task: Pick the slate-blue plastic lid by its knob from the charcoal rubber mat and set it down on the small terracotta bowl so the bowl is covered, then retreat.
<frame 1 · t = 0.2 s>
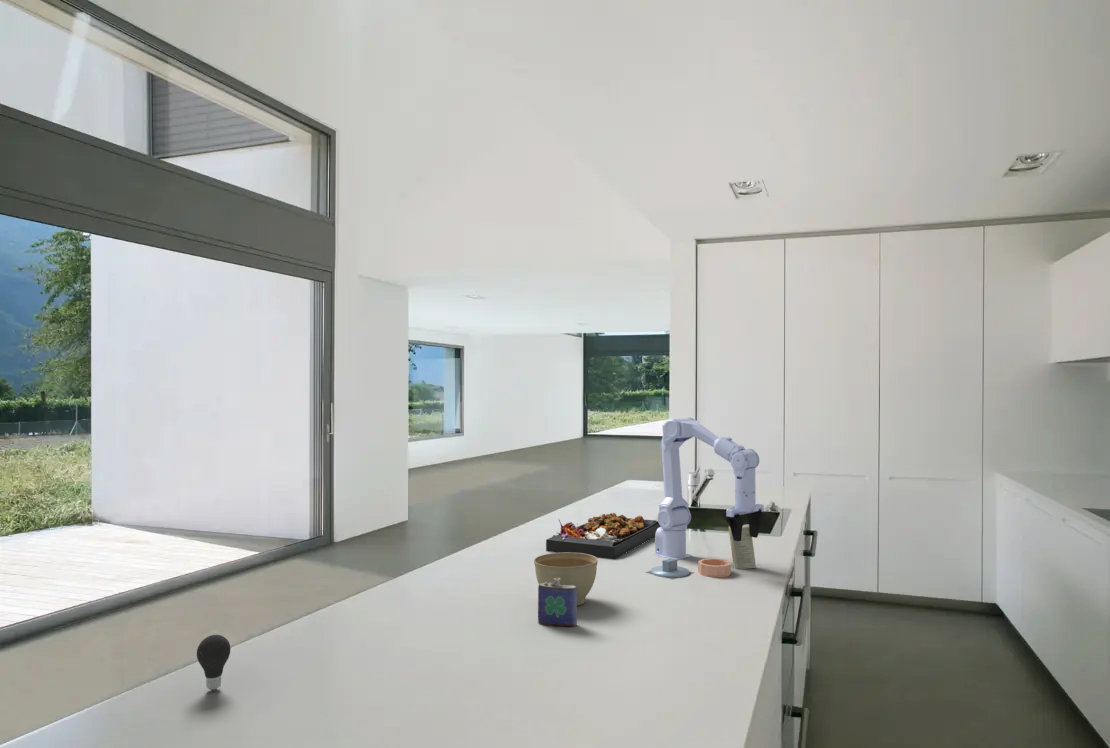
hand: (745, 538, 211), 10 cm above the counter, tool pointing down, fingers open, 7 cm apart
lid: (669, 572, 211), resting on mat
light bulb: (213, 691, 133), on the counter
bowl: (714, 574, 210), on the counter
planter bowl: (566, 602, 185), on the counter
skincare box: (744, 567, 217), on the counter, touching gripper
food platter: (608, 543, 254), on the counter
mat: (670, 573, 211), on the counter
flask: (557, 625, 168), on the counter
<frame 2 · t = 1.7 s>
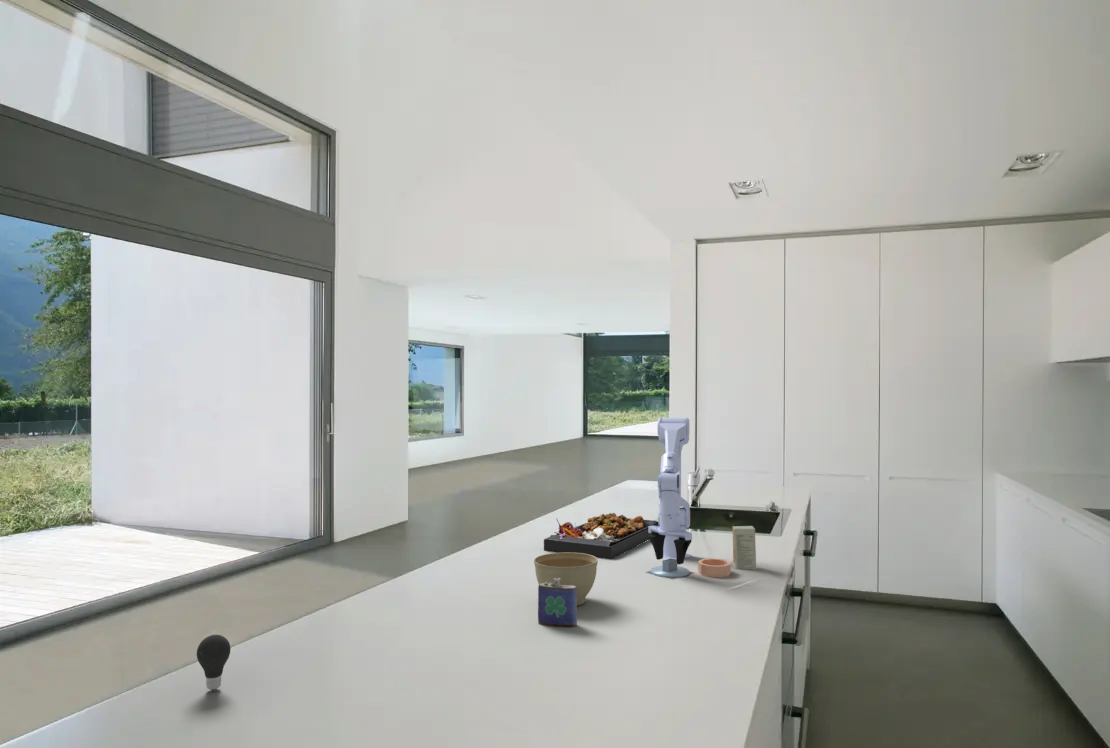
hand: (669, 561, 211), 4 cm above the counter, tool pointing down, fingers open, 7 cm apart
skincare box: (744, 568, 217), on the counter
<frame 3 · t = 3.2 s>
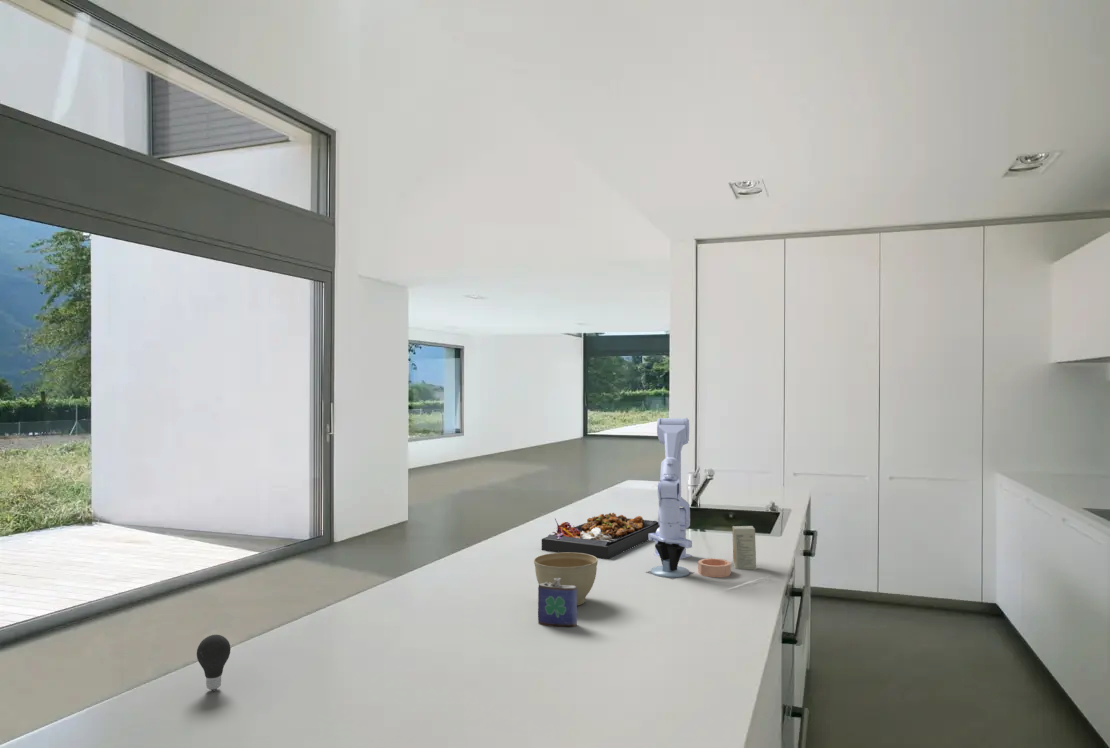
hand: (669, 568, 211), 1 cm above the counter, tool pointing down, fingers closed on lid, 2 cm apart
lid: (670, 572, 211), resting on mat, touching gripper
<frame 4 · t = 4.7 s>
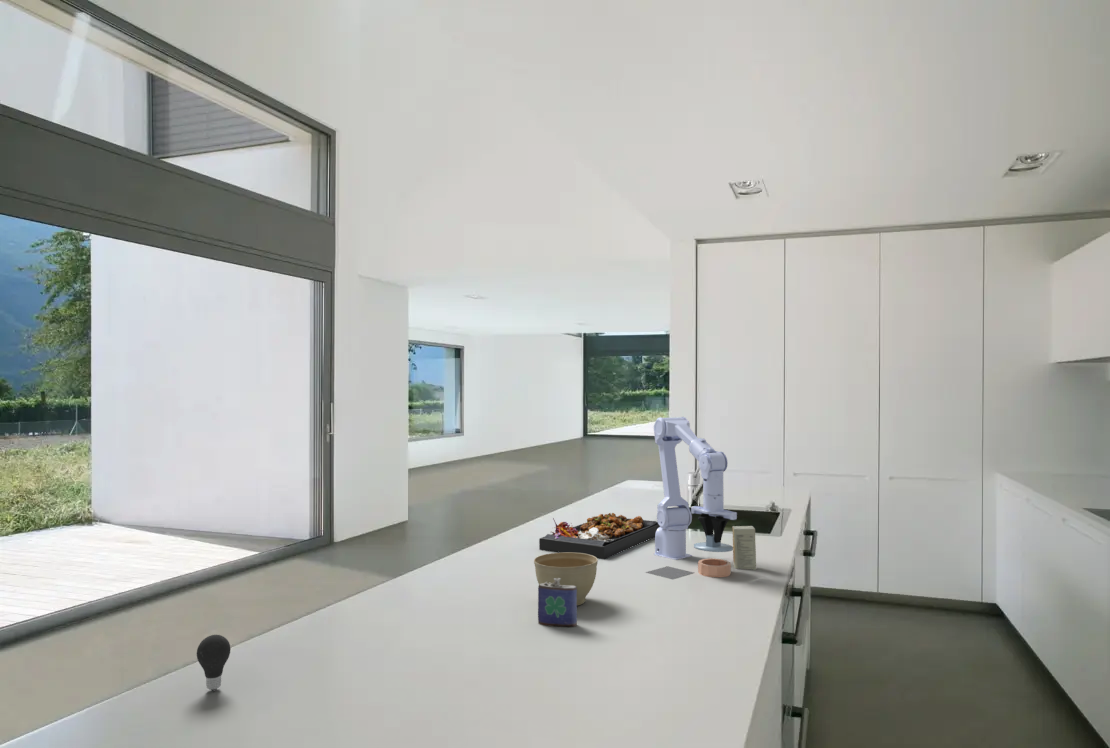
hand: (713, 541, 210), 9 cm above the counter, tool pointing down, fingers closed on lid, 2 cm apart
lid: (713, 548, 210), point 8 cm above the counter, touching gripper
when the fingers open (5 cm above the counter, at t = 6.1 s): lid stays where it is, resting on bowl.
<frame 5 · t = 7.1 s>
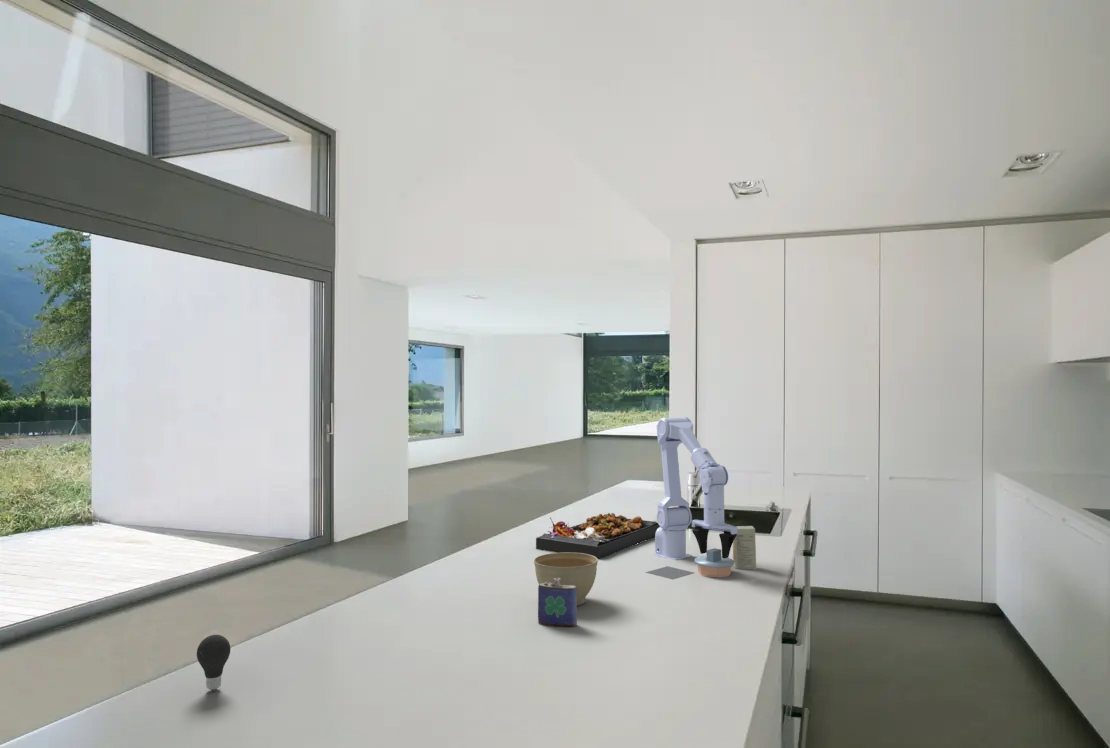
hand: (714, 555, 210), 5 cm above the counter, tool pointing down, fingers open, 7 cm apart
lid: (713, 562, 210), point 3 cm above the counter, touching bowl
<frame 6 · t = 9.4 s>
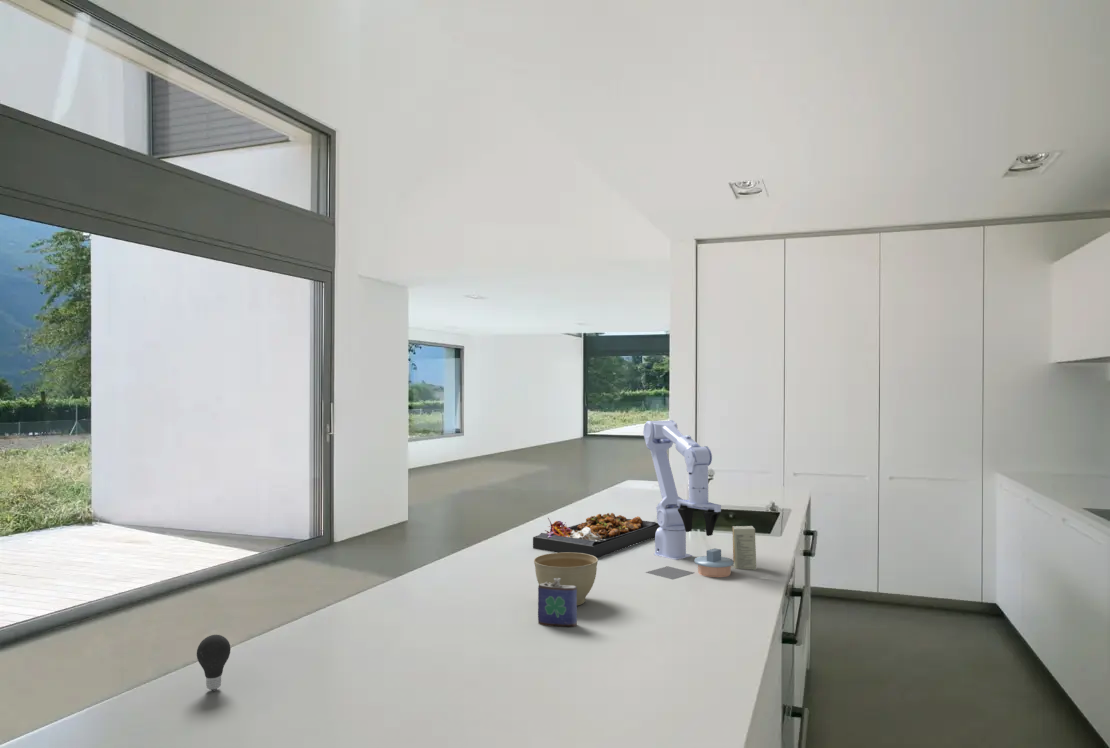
hand: (698, 533, 217), 10 cm above the counter, tool pointing down, fingers open, 7 cm apart
at the end: lid 0.2 cm off-centre on the bowl, point 3.4 cm above the bowl's base; lid tilted 0°; the gripper is holding nothing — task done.
